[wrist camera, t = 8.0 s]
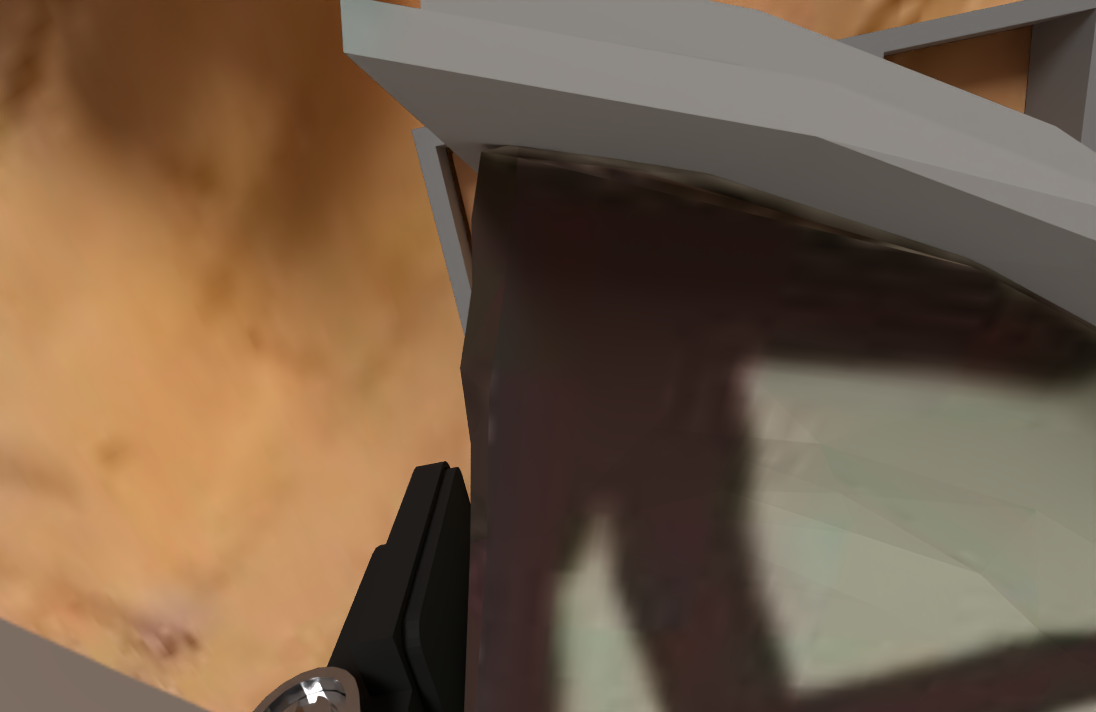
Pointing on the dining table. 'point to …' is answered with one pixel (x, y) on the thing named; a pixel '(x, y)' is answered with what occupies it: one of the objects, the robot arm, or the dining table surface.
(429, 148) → the rack
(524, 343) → the food container
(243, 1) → the dining table surface
